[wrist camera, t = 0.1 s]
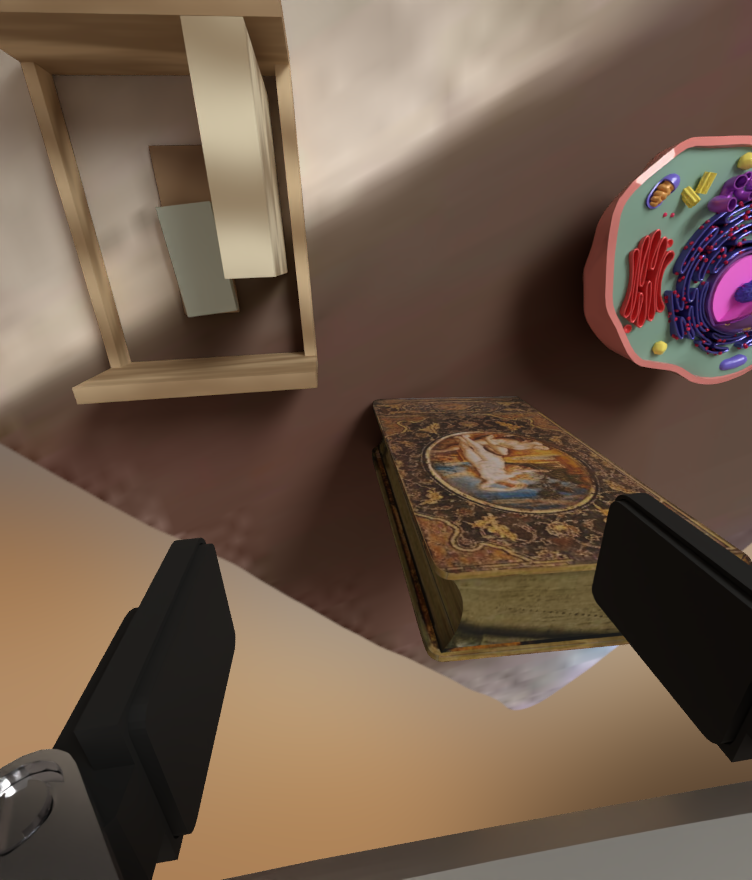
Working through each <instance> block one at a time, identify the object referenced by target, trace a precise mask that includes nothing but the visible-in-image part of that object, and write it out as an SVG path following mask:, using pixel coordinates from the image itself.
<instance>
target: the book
mask: <svg viewBox="0 0 752 880" xmlns="http://www.w3.org/2000/svg"><path fill="white" fill-rule="evenodd" d="M373 411H374V414H375V417H376V419H377V422H378V425H379V427H380V430H381V433H382V435H383V438H382V440H381V442H380V444H379V445H378V447H375V448H374V449H373V450H372V459H373V463H374V467H375V471H376V474H377V478H378V482H379V485H380V489H381V493H382V496H383V500H384V503H385V507H386V511H387V514H388V518H389V522H390V525H391V529H392V533H393V536H394V540H395V543H396V547H397V551H398V554H399V558H400V562H401V565H402V569H403V573H404V576H405V580H406V583H407V587H408V591H409V594H410V598H411V602H412V605H413V609H414V612H415V616H416V620H417V623H418V627H419V630H420V634H421V637H422V641H423V644H424V646H425V649H426V651H427V653H428V655H429V656H430V657H431V658H432V659H434V660H436V661H440V662H448V661H458V660H468V659H479V658H489V657H499V656H510V655H520V654H531V653H541V652H551V651H562V650H572V649H583V648H593V647H604V646H614V645H624V644H629V642H628V641H627V640H626V639H625V638H624V636H623V635H622V634H621V633H620V631H619V630H618V629H617V628H616V626H615V625H614V624H613V623H612V622H611V620H610V619H609V618H608V617H607V615H606V614H605V613H604V612H603V610H602V609H601V608H600V607H599V605H598V604H597V603H596V601H595V600H594V597H593V594H592V583H593V579H594V574H595V570H596V565H597V561H598V556H599V552H600V547H601V543H602V538H603V533H604V529H605V524H606V520H607V515H608V511H609V507H610V504H611V503H612V502H614V501H615V499H616V498H617V497H618V496H619V495H622V494H632V493H641V492H642V493H647V494H649V495H651V496H652V497H654V498H655V499H656V500H658V501H659V502H661V503H662V504H664V505H665V506H666V507H668V508H669V509H671V510H672V511H673V512H675V513H676V514H678V515H679V516H681V517H682V518H683V519H685V520H686V521H688V522H689V523H690V524H692V525H693V526H695V527H696V528H698V529H699V530H700V531H702V532H703V533H705V534H706V535H707V536H709V537H710V538H712V539H713V540H715V541H716V542H717V543H719V544H720V545H722V546H723V547H724V548H726V549H727V550H729V551H730V552H731V553H733V554H734V555H736V556H737V557H739V558H740V559H741V560H743V561H744V562H746V563H747V564H748V565H750V566H751V567H752V562H751V559H750V558H749V557H748V555H746V554H745V553H744V552H742V551H741V550H739V549H738V548H736V547H735V546H733V545H732V544H731V543H729V542H728V541H726V540H725V539H723V538H722V537H720V536H719V535H717V534H716V533H715V532H713V531H712V530H710V529H709V528H707V527H706V526H704V525H703V524H701V523H700V522H699V521H697V520H696V519H694V518H693V517H691V516H690V515H688V514H687V513H686V512H684V511H683V510H681V509H680V508H678V507H677V506H675V505H674V504H672V503H671V502H670V501H668V500H667V499H665V498H664V497H662V496H661V495H659V494H658V493H656V492H655V491H654V490H652V489H651V488H649V487H648V486H646V485H645V484H643V483H642V482H641V481H639V480H638V479H636V478H635V477H633V476H632V475H630V474H629V473H627V472H626V471H625V470H623V469H622V468H620V467H619V466H617V465H616V464H614V463H613V462H611V461H610V460H609V459H607V458H606V457H604V456H603V455H601V454H600V453H598V452H597V451H596V450H594V449H593V448H591V447H590V446H588V445H587V444H585V443H584V442H582V441H581V440H580V439H578V438H577V437H575V436H574V435H572V434H571V433H569V432H568V431H566V430H565V429H564V428H562V427H561V426H559V425H558V424H556V423H555V422H553V421H552V420H551V419H549V418H548V417H546V416H545V415H543V414H542V413H540V412H539V411H537V410H536V409H535V408H533V407H532V406H530V405H529V404H527V403H526V402H524V401H523V400H521V399H520V398H519V397H464V398H409V399H380V400H375V401H374V402H373Z"/></svg>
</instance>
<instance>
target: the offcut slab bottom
mask: <svg viewBox="0 0 752 880" xmlns="http://www.w3.org/2000/svg"><path fill="white" fill-rule="evenodd" d="M149 151H150V155H151V160H152V164H153V169H154V174H155V178H156V183H157V188H158V192H159V197H160V202H161V206H162V207H164V206H172V205H180V204H189V203H197V202H206V201H211V202H212V200H211V194H210V189H209V183H208V177H207V171H206V165H205V159H204V153H203V148H202V145H164V146H149ZM232 281H233V285H234V289H235V293H236V297H237V291H236V285H235V279H232ZM179 290H180V288H179ZM180 295H181V292H180ZM181 299H182V304H183V309H184V313H185V315H187V312H186V308H185V305H184V302H183V298H182V295H181ZM237 301H238V297H237ZM238 305H239V303H238ZM233 312H240V309H239V310H237V311H230V312H223V313H233Z"/></svg>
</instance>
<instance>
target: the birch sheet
mask: <svg viewBox="0 0 752 880" xmlns="http://www.w3.org/2000/svg"><path fill="white" fill-rule="evenodd" d="M180 18H181V24H182V30H183V36H184V42H185V48H186V54H187V59H188V65H189V71H190V77H191V83H192V89H193V95H194V101H195V106H196V112H197V118H198V124H199V130H200V136H201V142H202V148H203V153H204V159H205V165H206V171H207V177H208V183H209V189H210V194H211V200H212V206H213V212H214V218H215V224H216V230H217V236H218V241H219V247H220V253H221V259H222V265H223V271H224V277H225V279H234V278H257V277H276V276H279V275H282V274H285V273H287V272H288V268H287V259H286V250H285V241H284V232H283V223H282V214H281V206H280V197H279V188H278V179H277V170H276V161H275V152H274V143H273V134H272V126H271V117H270V108H269V99H268V94H267V91H266V88H265V85H264V82H263V79H262V75H261V72H260V69H259V66H258V63H257V60H256V56H255V53H254V50H253V47H252V44H251V41H250V38H249V34H248V31H247V28H246V25H245V22H244V19H243V17H235V16H180Z"/></svg>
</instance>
